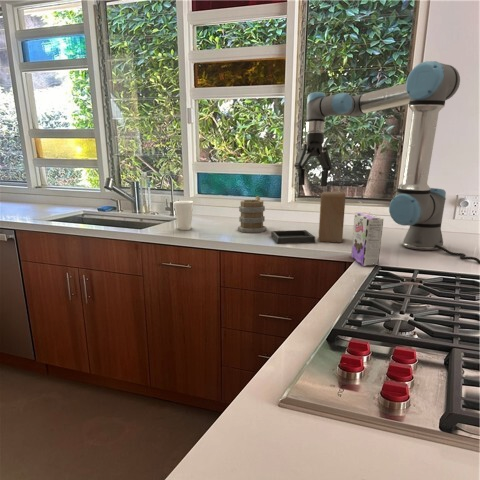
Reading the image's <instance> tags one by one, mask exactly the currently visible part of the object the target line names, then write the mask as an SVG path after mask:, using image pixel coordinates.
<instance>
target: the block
mask: <svg viewBox="0 0 480 480" xmlns="http://www.w3.org/2000/svg"><path fill="white" fill-rule="evenodd" d="M346 197H347V196H346V192H344V191H322V193H321V195H320V204H319V206H320V207H319V223H318V242H321V243H342V241H343V238H344V237H343V236H344V222H345V211H346V210H345V209H346Z"/></svg>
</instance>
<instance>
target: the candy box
mask: <svg viewBox="0 0 480 480" xmlns="http://www.w3.org/2000/svg"><path fill="white" fill-rule="evenodd" d="M383 227H384V217H380V216H378V215H375V214H373V213H371V212H368V211H367V212H364V211H363V212H354V218H353V231H352V245H351V256H350V258H351V259H353V260H354V261H355V262H357V263H358V264H360V266H362V267H377V266H376V265H378V266H379V262H380V253H381V244H382V238H383V237H382V236H383ZM373 263H374V264H373Z"/></svg>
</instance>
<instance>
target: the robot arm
mask: <svg viewBox="0 0 480 480" xmlns="http://www.w3.org/2000/svg"><path fill="white" fill-rule="evenodd" d="M460 83H461V76H460V72H459V71H458V69H457V68H456V67H454V66H452V65H451V64H446V63H441V62H439V61H436V60H435V61H432V60H429V61H428V60H426V61H422V62H420V63H418V64H417V65H416V66H414V67H413V69H412V70H411V71H410V72H409V74H408V76H407V78H406V81H405V82H404V83H401V84H397V85H392V86H388V87H385V88H381V89H378V90H373V91H370V92H365V93H362V94H358V95H350V94H349V93H348V92H339V93H336V94H331V95H328V96H327V95H326V93H325V92H321V91H316V92H311V93H309V94H308V95H307V100H306V125H305V129H306V130H305V132H306V134H305V143H302V144H301V145H300V150H299V152H298V155H297V157H296V160H295V163H294V168H296V170H297V177H298V186H305V183H306V182H305V180H306V168H305V166H306V165H307V163H308V162H309V161H310V158H312V157H313V158H316V159H317V160H318V162H319V165H320V167H321V169H322V171H321V179H320V180H321V181H320V187H328V178H329V172H330V171H331V170H332V169H333V165H332V163H331V159H330V155H329V148H328V146H323V143H324V142H325V134H324V133H325V120H326V118H327V117H332V116H333V117H334V116H342V117H343V116H345V117H346V116H348V117H362V116H364V115H365V114H369V113H373V112H378V111H382V110H384V111H385V110H388V109H392V108H397V107H402V106H407V105H408V108H409V109H410V110H411V112H412V114H411V121H410V127H409V134H408V142H407V149H406V155H405V162H404V170H403V177H402V182H401V183H400V184H398V186H397V188H396V194H395V196H394V197H393V198H392V199H391V201H390V203H389V205H388V212H389V216H390V218H391V219H392V220H393V221H394V223H396V224H397V225H400V226H404V227H405V226H409V228H408V229H407V231H406V234H405V236H404V238H403V241H402V246H403V247H404V248H406V249H411V250H415V251H416V250H417V251H443V252H445V253H446V254H447V255H448V254H449V255H450V256H454V257H455V256H456V257H457V256H458V257H459V258H460V260H467V261H468V260H472V261H475V262H476V263H477V264H478V265H480V259H479V258H477V257H476V256H467V255H466V254H465V253H463V252H453V251H450V250H448V249H447V248H445V247H444V238H443V234H442V224H443V223H442V222H443V216H444V212H445V211H444V210H445V204H446V200H447V197H446V196H447V191H446V190H445V189H442V188H436V187H435V188H434V187H430V186H429V185H428V180H429V175H430V168H431V163H432V162H431V161H432V157H433V156H432V155H433V150H434V143H435V137H436V133H437V125H438V119H439V113H440V111H441V110H443V108H444V107H445V105H446V101H448V100H450V99H452V98H453V97H454V95H455V94H456V93H457V91H458V89H459V88H460V85H461V84H460Z"/></svg>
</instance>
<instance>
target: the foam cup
mask: <svg viewBox="0 0 480 480" xmlns="http://www.w3.org/2000/svg"><path fill="white" fill-rule="evenodd" d="M173 207H174V211H175V212H174V213H175V217H176V223H177V224H176V225H177V228H178V230H179V231H180V230H181V231H189V230H191V229H192V223H193V222H192V221H193V213H194V212H193V210H194V201H193V200H176V201H173Z"/></svg>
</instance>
